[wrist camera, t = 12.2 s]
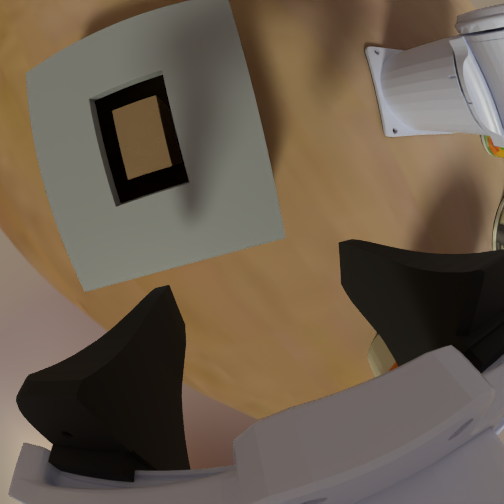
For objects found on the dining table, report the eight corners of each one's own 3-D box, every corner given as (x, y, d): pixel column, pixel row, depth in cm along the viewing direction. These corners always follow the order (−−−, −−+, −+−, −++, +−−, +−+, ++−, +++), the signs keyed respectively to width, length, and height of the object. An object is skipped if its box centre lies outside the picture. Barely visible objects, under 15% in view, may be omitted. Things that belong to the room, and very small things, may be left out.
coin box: (221, 33, 14) (226, -7, 9) (264, 212, 20) (285, 237, 14) (68, 87, 14) (26, 73, 8) (113, 254, 19) (85, 291, 14)
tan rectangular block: (169, 108, 16) (155, 95, 12) (181, 161, 18) (171, 166, 13) (135, 119, 16) (112, 110, 11) (148, 171, 18) (128, 179, 13)
